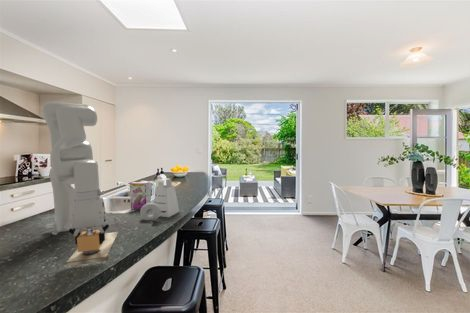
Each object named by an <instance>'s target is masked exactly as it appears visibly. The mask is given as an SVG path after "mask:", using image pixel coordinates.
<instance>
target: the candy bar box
mask: <svg viewBox="0 0 470 313" xmlns="http://www.w3.org/2000/svg"><path fill="white" fill-rule="evenodd" d="M129 195H130V209H132V210H141V208H142V207H143V206H144V205H145V204H147V203H151V183H150V182H149V181H148V182H146V181H145V182H143V181H133V182H130V183H129Z"/></svg>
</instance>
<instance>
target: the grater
mask: <svg viewBox="0 0 470 313" xmlns="http://www.w3.org/2000/svg"><path fill="white" fill-rule="evenodd" d="M165 181H166V182H165ZM164 183H165V184H164ZM172 183H173V182H172V179H171V178H167V177H166V178H162V179H161V178H160V179H158V182H157V187H155V191H154V202H153V203H155V204H157V205H158V206H159V208H160V215H159V217H161V216H162V217H163V218H170V217H172V216H174V215H176V214H178V213H180V208H179V204H178V203H179V202H178V197H177V192H176V188H175V187H176V186H175V185H173V184H172ZM152 211H153V210H152ZM153 213H154V211H153V212H152V214H153ZM162 217H161V218H162Z"/></svg>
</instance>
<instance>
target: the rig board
mask: <svg viewBox="0 0 470 313" xmlns="http://www.w3.org/2000/svg"><path fill="white" fill-rule="evenodd" d="M118 234H119V231H112V232H105V241H103V243H102V245H101V246H100V248H99V252H98V253H96V254H94V255H89V256H84V255H83V252H78V247H76V248H77V249H75V251H74V252H73V253H72V255H71V256H70V257H69V259H68V260H67V261H66V267H73V266H78V265H79V266H80V265H85V264H92V263H99V262H107V260H108V258H109V256H108V254H109V252H110V250H111V249H112V248H111V247H112V246H113V244H114V242H115V239H116V238H117V236H118Z"/></svg>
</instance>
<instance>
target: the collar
mask: <svg viewBox="0 0 470 313" xmlns="http://www.w3.org/2000/svg"><path fill="white" fill-rule="evenodd" d="M93 231H94V235H88V236H87V233H86V231H82V232H80V233H81V234H80V235H79V236H78V238H77V244H76V247H77V246H78V247H77V248H78V252H84V251H91V250H98V249H99V248H100V246H101V245H102V244H100V242H99V234H100V231H99V230H97V229H96V230H95V229H93Z"/></svg>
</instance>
